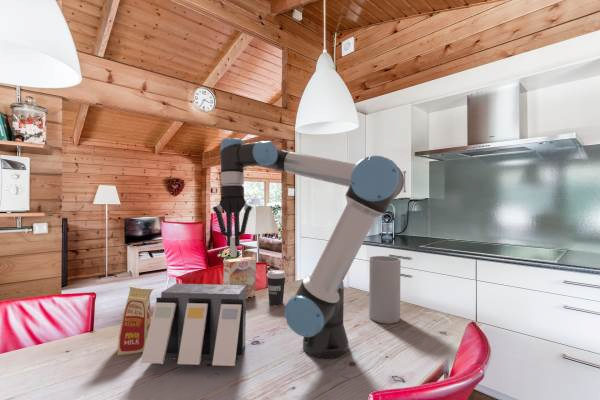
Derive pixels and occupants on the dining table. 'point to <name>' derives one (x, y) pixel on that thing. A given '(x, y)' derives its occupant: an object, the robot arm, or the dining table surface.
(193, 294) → the card holder crate
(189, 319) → the cream flat slab
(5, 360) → the dining table surface
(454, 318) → the dining table surface
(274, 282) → the coffee cup
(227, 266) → the coffeecake box
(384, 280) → the cylinder vase
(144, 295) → the milk carton
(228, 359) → the cream flat slab
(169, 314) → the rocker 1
